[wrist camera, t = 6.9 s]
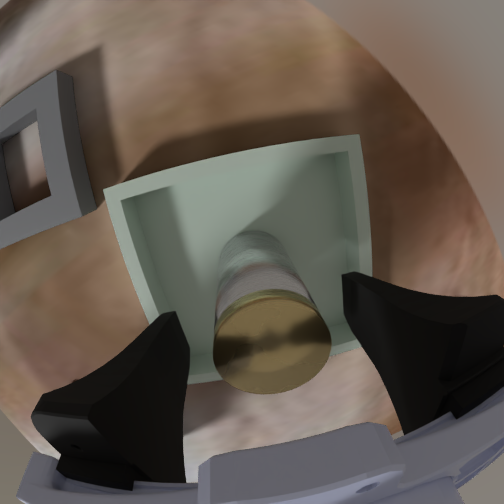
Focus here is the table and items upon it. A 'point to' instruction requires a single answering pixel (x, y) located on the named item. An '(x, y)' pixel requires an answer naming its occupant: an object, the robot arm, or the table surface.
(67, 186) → the holder
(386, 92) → the table surface
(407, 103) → the table surface
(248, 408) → the table surface
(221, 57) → the table surface
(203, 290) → the tray
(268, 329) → the pin
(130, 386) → the robot arm
